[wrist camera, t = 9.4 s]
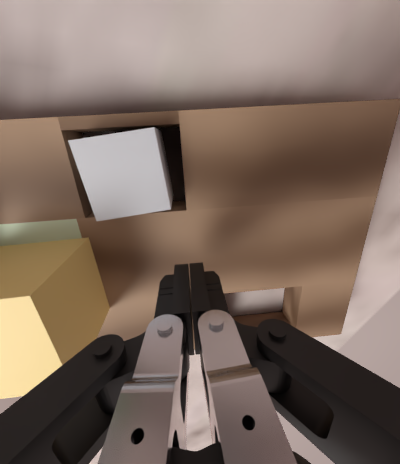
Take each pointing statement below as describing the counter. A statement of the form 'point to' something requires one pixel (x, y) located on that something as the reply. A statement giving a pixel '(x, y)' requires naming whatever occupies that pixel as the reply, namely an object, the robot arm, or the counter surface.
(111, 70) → the counter surface
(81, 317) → the mustard block
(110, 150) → the grey block
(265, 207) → the box
